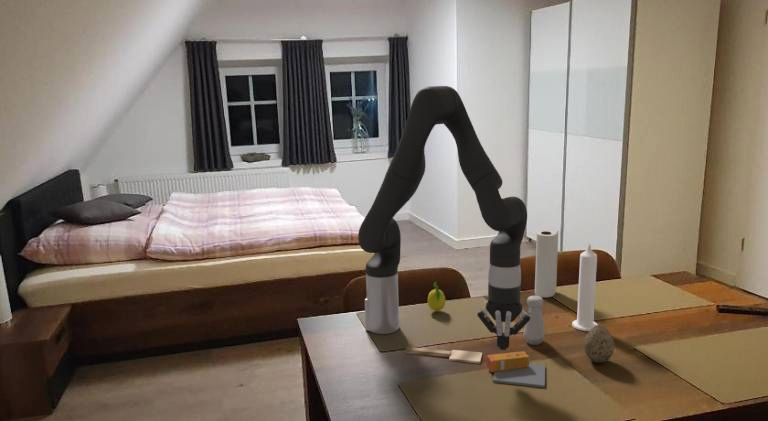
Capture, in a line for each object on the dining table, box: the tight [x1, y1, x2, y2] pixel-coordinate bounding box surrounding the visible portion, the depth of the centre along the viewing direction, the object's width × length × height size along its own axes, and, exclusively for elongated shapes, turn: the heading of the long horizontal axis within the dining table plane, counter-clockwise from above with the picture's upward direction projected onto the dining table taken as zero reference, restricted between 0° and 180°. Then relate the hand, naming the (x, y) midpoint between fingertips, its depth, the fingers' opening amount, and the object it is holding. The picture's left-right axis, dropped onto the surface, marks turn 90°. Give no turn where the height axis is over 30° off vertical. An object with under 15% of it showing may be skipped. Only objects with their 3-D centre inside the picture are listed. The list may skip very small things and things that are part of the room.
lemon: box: [427, 281, 446, 313], centre depth 180 cm, size 7×6×10 cm
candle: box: [571, 243, 599, 332], centre depth 165 cm, size 7×7×25 cm
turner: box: [405, 346, 483, 365], centre depth 153 cm, size 20×5×1 cm, turn 74°
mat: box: [492, 362, 546, 388], centre depth 142 cm, size 12×10×1 cm
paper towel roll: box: [534, 230, 559, 298], centre depth 190 cm, size 7×6×21 cm
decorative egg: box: [583, 324, 615, 364], centre depth 146 cm, size 7×7×10 cm
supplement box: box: [486, 351, 530, 373], centre depth 144 cm, size 3×3×10 cm
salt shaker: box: [523, 295, 546, 346], centre depth 158 cm, size 6×6×13 cm
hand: (503, 348), depth 141 cm, fingers closed
